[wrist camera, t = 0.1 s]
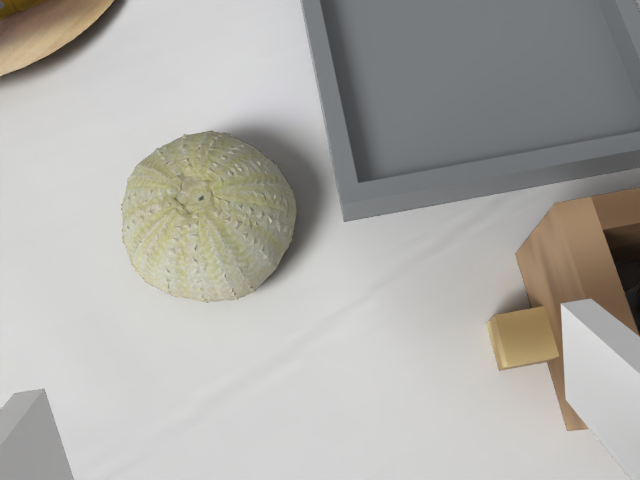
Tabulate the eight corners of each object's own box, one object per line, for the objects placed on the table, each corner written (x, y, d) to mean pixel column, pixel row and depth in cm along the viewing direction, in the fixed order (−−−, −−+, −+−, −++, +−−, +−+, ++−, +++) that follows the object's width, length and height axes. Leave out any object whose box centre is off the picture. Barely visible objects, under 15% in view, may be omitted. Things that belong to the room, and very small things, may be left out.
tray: (670, 161, 33) (693, 139, 30) (344, 221, 33) (342, 204, 31) (569, -87, 39) (582, -122, 36) (293, -35, 39) (288, -67, 37)
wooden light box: (754, 397, 29) (871, 382, 22) (517, 439, 29) (563, 437, 22) (684, 222, 32) (769, 163, 25) (470, 262, 32) (498, 213, 25)
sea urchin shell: (238, 97, 34) (270, 123, 27) (295, 214, 37) (336, 264, 30) (89, 172, 33) (81, 219, 26) (162, 285, 37) (172, 353, 29)
